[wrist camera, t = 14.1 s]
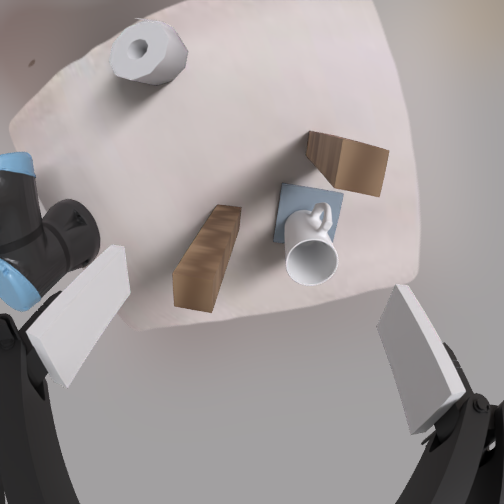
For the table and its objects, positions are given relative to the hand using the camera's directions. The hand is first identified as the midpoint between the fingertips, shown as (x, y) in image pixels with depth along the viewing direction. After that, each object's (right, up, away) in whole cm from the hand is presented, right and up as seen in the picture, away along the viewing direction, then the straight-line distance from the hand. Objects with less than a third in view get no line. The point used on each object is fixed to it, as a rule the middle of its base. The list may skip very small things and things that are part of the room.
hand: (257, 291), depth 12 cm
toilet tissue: (-15, +34, +21) cm, 43 cm away
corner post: (-4, +8, +33) cm, 34 cm away
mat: (+9, +8, +32) cm, 34 cm away
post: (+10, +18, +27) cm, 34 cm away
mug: (+9, +7, +32) cm, 34 cm away
